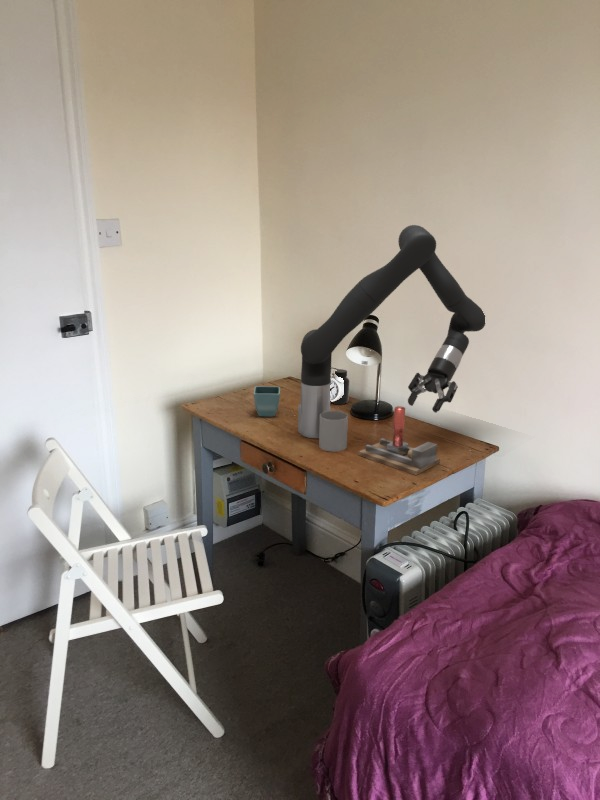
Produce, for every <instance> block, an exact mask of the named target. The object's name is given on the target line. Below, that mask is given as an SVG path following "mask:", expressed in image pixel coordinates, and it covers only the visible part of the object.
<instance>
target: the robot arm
mask: <svg viewBox="0 0 600 800" xmlns="http://www.w3.org/2000/svg"><path fill="white" fill-rule="evenodd" d="M398 247H399V251H398V252H397V254H396V255H395V256H394V257H392V258H391V260H390V261H389V262H388V263H386V264H385V265H384V266H382V267H380V268H378V269H376V270H375V271H373V272H371V273H369V274H367V275H365V276H363V278H361V279H360V280H359V281H358V282H357V283H356V284H355V285H354V286H353V287H352V289H350V290H349V291H348V293H347V294H346V295H345V296H344V297H343V299H341V301H340V302H339V304H338V305H337V306H336V309H334V311H333V313H332V314H331V315H330V317H329V318H328V319H327V320H326V321H324V323H322V324H321V326H319V327H318V328H317V329H312V330H309V331H307V332H306V333H305V334H304V336H303V338H302V341H301V345H300V352H301V373H300V403H298V405H297V406H298V407H297V409H298V411H297V416H298V417H297V421H298V422H297V423H298V425H297V428H298V429H297V430H298V431H297V432H298V433H300V435H301V436H302V437H305V438H308V439H309V438H310V439H319V425H320V414H321V413H323V412H326V411H331V402H330V385H331V379H332V377H331V376H332V353H333V352H334V350H335V349H336V348H337V347H338V346H339V344H340V343H341V342H342V341H343V340H344V339H345V338H346V336H348V335H349V334H350V333H351V332H352V331H354V330H355V329H356V328H357V327H358V326H360V324H361V323H362V322H364V321H365V320H366V319H367V318H368V317H369V316H370V315H372V314H373V313H374V312H375V311H376V310H377V309H378V308H379V307H380V305H382V304H383V302H385V300H386V299H387V298H388V297H389V296H390V295H391V294H392V293H393V292H394V291H395V290H396V289H397V288H399V286H400V285H401V284H402V283H403V282H404V281H406V279H408V278H409V277H410V276H411V275H412V274H414V273H415V272H416V271H417V270H418V269H419V270H420V272H421V273H422V274H423V276H424V277H425V279H426V280H427V281H428V284H430V287H431V288H432V289H433V292H434V293H435V294H436V296H437V297H438V299H439V300H440V302H441V304H442V305H444V308H445V309H446V310H447V311H449V312H450V313H453V314H452V315H451V318H450V322H449V325H448V330H447V336H446V338H445V339H444V341H443V342H442V344H441V347H440V348H439V350H438V351H437V353H436V354H435V355H434V357H433V360H432V362H431V364H430V366H429V368H428V369H427V372H426V373H425V375H422V374H421V373H419V372H416V373H415V375H414V377H413V378H412V379H411V381H410V383H409V385H408V386H407V388H408V390H409V391H410V394H409V396H408V398H407V403H408V405H409V406H414V404H415V402H416V400H417V398H418V397H419V396H418V395H420V394H422V393H425V392H428V393H434V394H437V395H438V398H437V399H436V401H435V402H434V404H433V407H432V412H433V413H438V412H439V411H440V410H441V408H442V406H443V405H444V403H449V404H450V403H451V402H452V401H453V399H454V396H455V395H456V392H457V389H458V384H457V383H456V381H452V379H453V377H454V375H455V373H456V371H457V369H458V368H459V366H460V364H461V362H462V358H463V356H464V354H465V352H466V350H467V348H468V346H469V345H470V340H469V339H470V338H469V337H468V336H467V335H466V334H464V333H465V332H467V333H468V332H479V331H481V330H483V329H484V327H485V326H486V323H485V317H486V314H485V312H484V311H482V310H483V309H482V308H481V307H480V306H479V305H478V304H477V303H476V302H475V301H473V300H472V299H471V298H470V297H468V295H466V293H465V292H464V290H463V288H462V287H461V285H460V283H458V281H457V280H456V279H455V277H454V275H452V274H451V272H450V271H449V270H448V269H447V267H446V266H445V265H444V264H443V263H442V261H441V260H440V258H439V257H438V255H437V254H436V249H437V241H436V239H435V237H434V235H433V234H432V233H430V231H428V230H427V229H425V228H424V227H423V226H421V225H416V224H412V225H411V224H410V225H408V226H406V227H404V229H402V231H401V232H400V234H399V236H398ZM483 312H484V313H483ZM484 314H485V315H484ZM447 388H448V389H447ZM445 389H447V392H446V394H445V392H444V390H445Z"/></svg>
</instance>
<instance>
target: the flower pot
mask: <svg viewBox="0 0 600 800" xmlns="http://www.w3.org/2000/svg"><path fill="white" fill-rule="evenodd" d="M280 396H281V387H280V386H268V385H267V386H260V385H259V386H258V385H257V386H254V391H253V399H254V407H255V410H256V412H257V415H258V416H259V417H269V418H270V417H273V418H274V417H275V415H276V414H277V413H278V409H279V405H280V398H281V397H280Z"/></svg>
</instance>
